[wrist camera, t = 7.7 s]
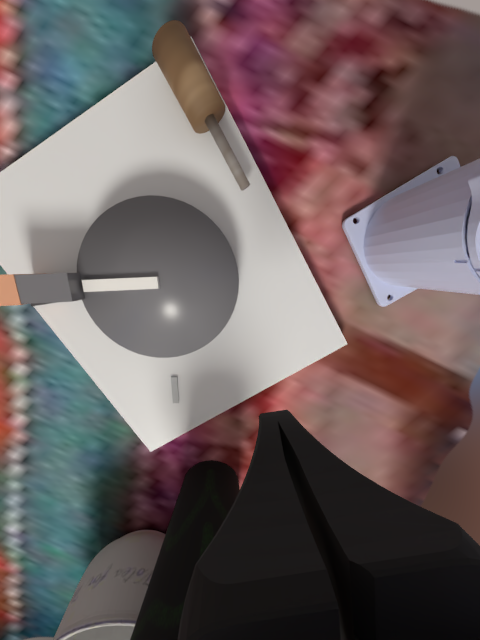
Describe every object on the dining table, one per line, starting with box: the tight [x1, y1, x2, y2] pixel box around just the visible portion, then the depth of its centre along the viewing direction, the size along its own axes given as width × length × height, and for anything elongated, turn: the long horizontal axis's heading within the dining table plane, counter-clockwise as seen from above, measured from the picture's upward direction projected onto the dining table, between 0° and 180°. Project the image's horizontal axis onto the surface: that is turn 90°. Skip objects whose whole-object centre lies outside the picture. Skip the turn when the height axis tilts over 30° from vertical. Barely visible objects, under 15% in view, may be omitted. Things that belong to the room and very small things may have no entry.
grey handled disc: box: [0, 195, 239, 358], centre depth 16 cm, size 16×11×3 cm
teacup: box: [53, 530, 166, 640], centre depth 22 cm, size 14×11×8 cm
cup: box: [130, 461, 240, 640], centre depth 18 cm, size 8×8×12 cm
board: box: [0, 37, 347, 452], centre depth 19 cm, size 20×24×1 cm
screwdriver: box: [152, 20, 250, 191], centre depth 15 cm, size 9×2×2 cm, turn 30°
